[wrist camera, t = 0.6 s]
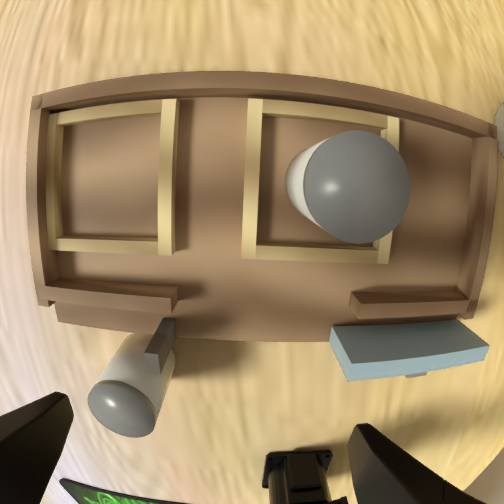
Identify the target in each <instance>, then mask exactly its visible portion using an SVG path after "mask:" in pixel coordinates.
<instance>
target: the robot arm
mask: <svg viewBox="0 0 504 504" xmlns="http://www.w3.org/2000/svg"><path fill="white" fill-rule="evenodd" d="M73 417H74V414H73V410H72V407H71V404H70V401H69V398H68V396H67V395H66V394H63V393H60V392H54V393H51V394H49V395H47V396H45V397H43V398H41V399H38V400H36V401H34V402H32V403H29V404H27V405H25V406H23V407H20V408H18V409H16V410H13V411H11V412H9V413H7V414H4V415H2V416H0V504H40V502H41V499H42V497H43V495H44V492H45V490H46V487H47V485H48V483H49V480H50V478H51V476H52V474H53V471H54V469H55V467H56V465H57V462H58V460H59V458H60V456H61V453H62V451H63V448H64V445H65V442H66V439H67V436H68V433H69V430H70V427H71V424H72V421H73ZM348 452H349V459H350V466H351V473H352V480H353V486H354V491H355V495H356V498H357V502H358V504H486V503H484V502H482V501H480V500H478V499H476V498H474V497H472V496H470V495H468V494H466V493H465V492H463V491H461V490H460V489H458V488H457V487H455V486H453V485H452V484H450V483H449V482H448V481H446V480H444V479H443V478H442V477H440V476H439V475H437V474H436V473H435V472H433V471H432V470H430V469H429V468H428V467H426V466H425V465H423V464H422V463H421V462H419V461H418V460H416V459H415V458H414V457H412V456H411V455H410V454H408V453H407V452H406V451H404V450H403V449H402V448H400V447H399V446H398V445H396V444H395V443H394V442H392V441H391V440H390V439H388V438H387V437H386V436H385V435H383V434H382V433H381V432H379V431H378V430H377V429H376V428H374V427H373V426H372V425H370V424H368V423H364V424H357V425H356V426H355V427H354V429H353V432H352V434H351V436H350V439H349V441H348ZM332 456H333V454H332V451H330V450H326V451H315V452H300V453H273V454H268V455H266V459H265V466H264V473H263V480H262V487H263V488H269V499H270V504H348V501H347V497H346V496H345V497H341V498H340V499H337V500H333V501H332V500H331V495H330V491H329V487H328V483H327V479H326V471H327V469H328V466H329V464H330V461H331V458H332Z"/></svg>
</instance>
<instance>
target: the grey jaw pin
mask: <svg viewBox="0 0 504 504" xmlns="http://www.w3.org/2000/svg"><path fill="white" fill-rule="evenodd" d="M152 337H153V335H150V334H140V333H134V334H131V335H130V336H128V337H127V338H126V339H125V340H124V342H123V343H122V345H121V346H120V348H119V349H118V351H117V352H116V353H115V355H114V356H113V358H112V359H111V361H110V362H109V364H108V365H107V367H106V368H105V370H104V371H103V373H102V374H101V376H100V377H99V379H98V381H97V382H96V384H95V385H94V387H93V388H92V390H91V391H90V393H89V395H88V405H89V408H90V410H91V412H92V414H93V415H94V417H95V418H96V419H97V420H98V421H99V422H100V423H101V424H102V425H104V426H105V427H106V428H108V429H110V430H111V431H113V432H115V433H117V434H120V435H123V436H127V437H143V436H146V435H148V434H150V433H151V432H152V431H153V429H154V427H155V424H156V421H157V418H158V415H159V412H160V409H161V406H162V403H163V400H164V397H165V394H166V391H167V388H168V385H169V382H170V379H171V376H172V374H173V371H174V368H175V363H176V362H175V356H174V353H173V351H172V349H171V350H170V353H169V355H168V358H167V360H166V363H165V365H164V368H163V370H162V373H161V375H157V374H149V373H147V370H146V364H145V357H144V352H145V350H146V348H147V346H148V344H149V342H150V341H151V339H152Z"/></svg>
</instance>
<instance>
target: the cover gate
mask: <svg viewBox="0 0 504 504" xmlns="http://www.w3.org/2000/svg"><path fill="white" fill-rule="evenodd" d="M329 343H330V345H331V347H332V349H333V351H334V353H335V355H336V357H337V360H338V362H339V364H340V366H341V368H342V370H343V373H344V375H345V377H346V379H347V381H355V380H366V379H376V378H385V377H394V376H401V375H405V376H406V378H411V377H417V376H423V375H426V374H427V372H428V371H434V370H440V369H445V368H450V367H455V366H460V365H465V364H470V363H474V362H478V361H483V360H484V359H485V357H486V354H487V351H488V349H489V346H490V345H489V344H487V343H486V342H485V341H484V340H482V339H481V338H480V337H479V336H478V335H476V334H475V333H474V332H473V331H471V330H470V329H469V328H468V327H466V326H465V325H464V324H463V323H461V322H460V321H459V320H446V321H434V322H421V323H406V324H388V325H364V326H332V328H331V334H330V340H329Z"/></svg>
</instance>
